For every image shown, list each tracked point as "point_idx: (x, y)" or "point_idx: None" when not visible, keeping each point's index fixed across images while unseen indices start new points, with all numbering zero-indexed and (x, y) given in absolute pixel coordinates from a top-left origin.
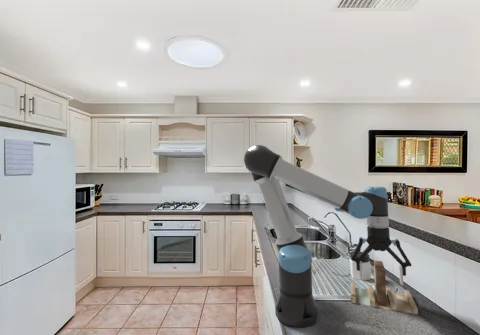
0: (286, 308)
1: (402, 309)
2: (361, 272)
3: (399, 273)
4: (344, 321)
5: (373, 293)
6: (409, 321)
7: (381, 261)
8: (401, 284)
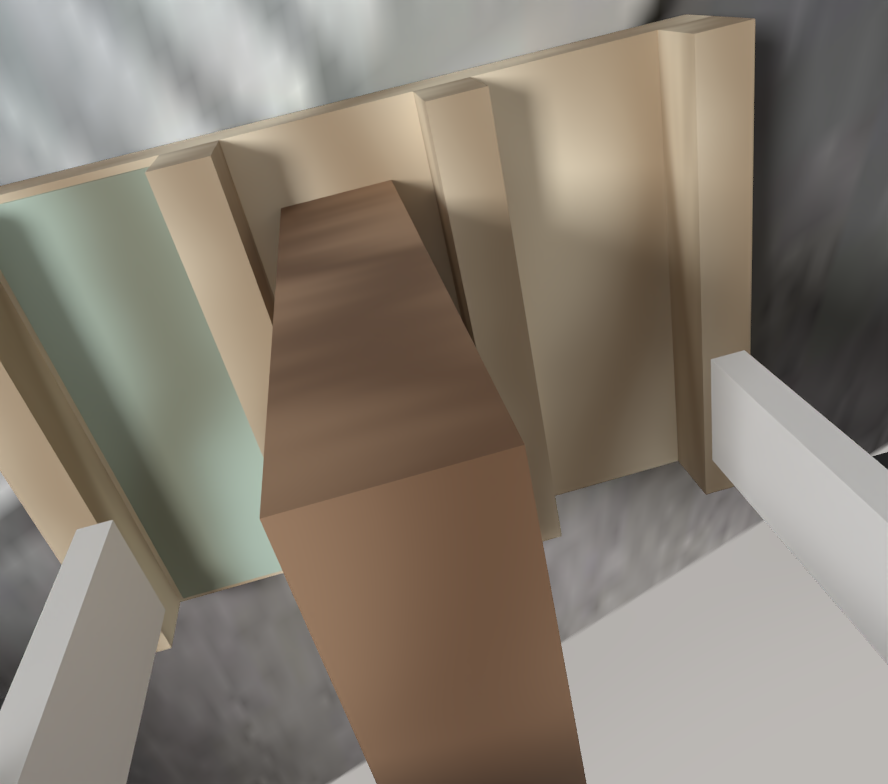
0: None
1: (601, 446)
2: (124, 731)
3: (808, 478)
4: (201, 772)
5: (270, 254)
6: (628, 505)
7: (504, 472)
8: (724, 466)
